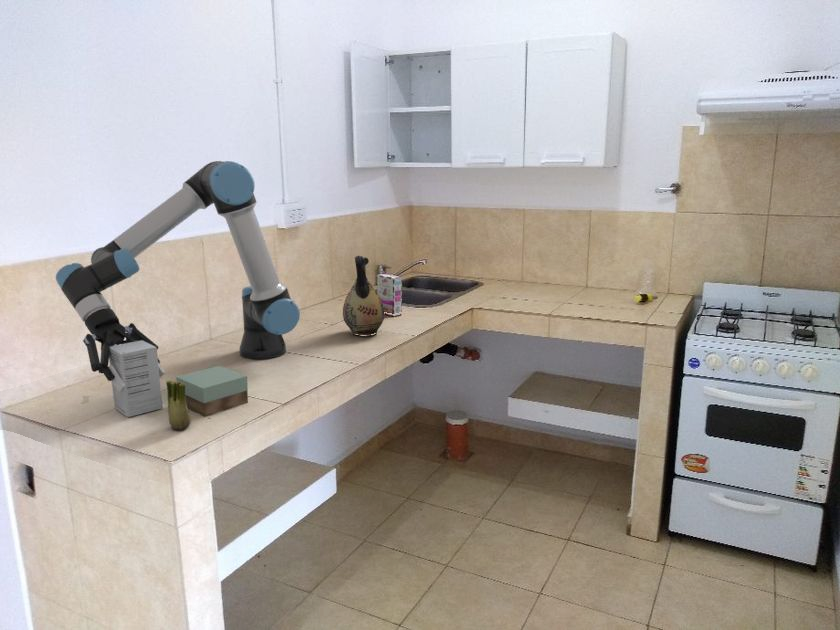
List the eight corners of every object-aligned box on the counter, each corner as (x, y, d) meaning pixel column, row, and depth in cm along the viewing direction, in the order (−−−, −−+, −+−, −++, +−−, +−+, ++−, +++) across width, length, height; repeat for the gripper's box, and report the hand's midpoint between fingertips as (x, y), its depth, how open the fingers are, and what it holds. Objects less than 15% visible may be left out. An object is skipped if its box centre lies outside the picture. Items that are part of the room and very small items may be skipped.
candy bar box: (402, 315, 271) (402, 276, 267) (393, 317, 268) (393, 278, 264) (385, 310, 279) (385, 273, 275) (376, 312, 276) (376, 274, 272)
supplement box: (163, 408, 169) (158, 346, 165) (127, 418, 163) (120, 354, 158) (148, 398, 175) (143, 339, 171) (113, 407, 169) (106, 345, 165)
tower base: (220, 392, 182) (219, 379, 181) (248, 404, 174) (247, 390, 173) (177, 406, 173) (176, 391, 172) (205, 418, 165) (204, 404, 164)
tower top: (220, 379, 182) (219, 365, 181) (247, 390, 174) (246, 376, 173) (177, 391, 172) (176, 376, 171) (204, 403, 164) (203, 388, 163)
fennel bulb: (167, 426, 159) (162, 379, 156) (187, 421, 162) (183, 376, 159) (173, 434, 154) (169, 386, 151) (194, 429, 157) (190, 382, 154)
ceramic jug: (346, 328, 250) (345, 251, 243) (386, 328, 250) (386, 251, 242) (339, 340, 234) (337, 258, 226) (382, 341, 233) (381, 258, 226)
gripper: (131, 314, 181) (173, 376, 178) (49, 334, 161) (95, 404, 158) (142, 298, 177) (185, 361, 174) (59, 316, 158) (107, 388, 154)
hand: (142, 382), depth 166 cm, fingers closed on supplement box, 11 cm apart
